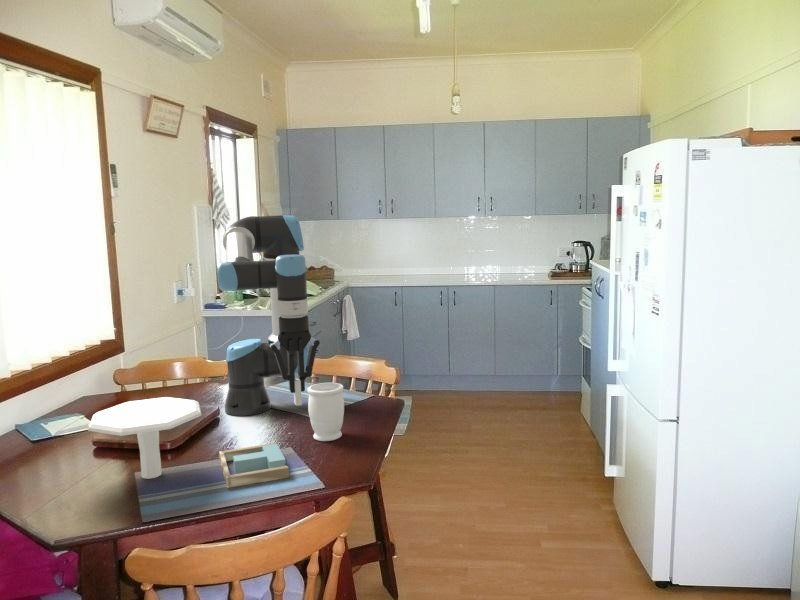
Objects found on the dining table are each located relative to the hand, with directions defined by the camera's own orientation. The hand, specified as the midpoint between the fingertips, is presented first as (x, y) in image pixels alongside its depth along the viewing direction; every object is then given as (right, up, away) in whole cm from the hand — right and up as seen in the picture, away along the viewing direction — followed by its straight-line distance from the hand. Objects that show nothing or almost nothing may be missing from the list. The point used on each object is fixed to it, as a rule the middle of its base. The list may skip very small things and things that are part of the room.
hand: (297, 403), depth 167 cm
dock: (-11, -16, -3) cm, 20 cm away
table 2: (-36, -18, -5) cm, 41 cm away
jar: (+6, -13, +19) cm, 24 cm away
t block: (-10, -16, -2) cm, 19 cm away
